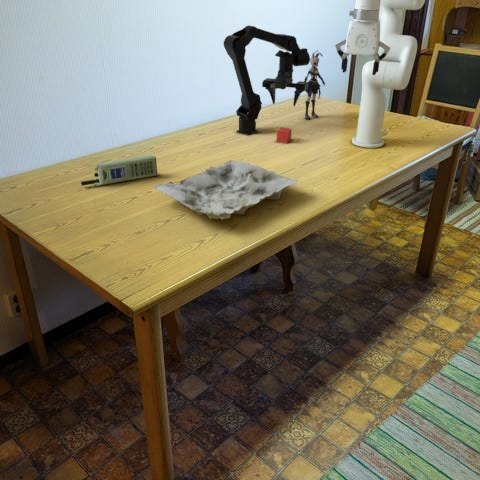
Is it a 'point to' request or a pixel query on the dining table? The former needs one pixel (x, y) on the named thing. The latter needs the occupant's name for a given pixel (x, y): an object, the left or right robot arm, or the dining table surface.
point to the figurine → (313, 84)
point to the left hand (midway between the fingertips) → (283, 105)
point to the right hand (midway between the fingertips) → (359, 73)
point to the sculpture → (227, 189)
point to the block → (284, 135)
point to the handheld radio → (124, 170)
